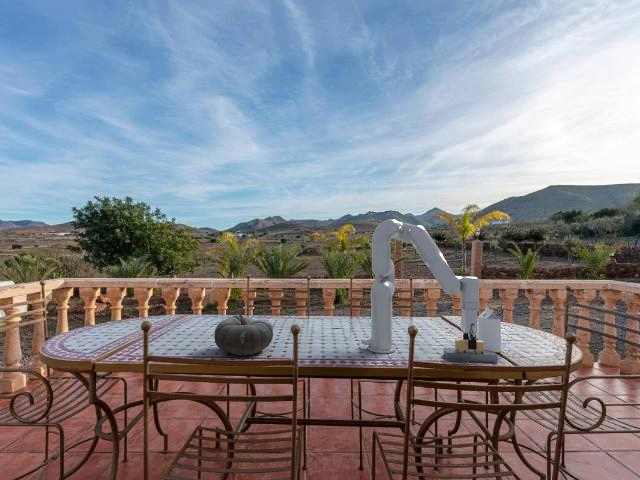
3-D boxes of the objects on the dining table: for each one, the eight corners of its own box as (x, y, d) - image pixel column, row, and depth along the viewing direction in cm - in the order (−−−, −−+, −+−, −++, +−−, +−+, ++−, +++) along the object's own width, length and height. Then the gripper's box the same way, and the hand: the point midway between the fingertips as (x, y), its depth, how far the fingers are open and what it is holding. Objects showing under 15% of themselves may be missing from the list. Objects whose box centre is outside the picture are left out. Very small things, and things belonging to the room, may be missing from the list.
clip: (456, 358, 156) (456, 340, 156) (455, 356, 159) (455, 339, 159) (483, 360, 154) (483, 342, 154) (482, 358, 157) (482, 340, 157)
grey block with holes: (446, 359, 154) (446, 352, 154) (443, 354, 162) (443, 347, 162) (497, 362, 151) (497, 355, 151) (491, 357, 159) (491, 350, 159)
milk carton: (492, 348, 173) (492, 307, 173) (500, 352, 166) (500, 310, 166) (478, 348, 173) (478, 307, 173) (485, 352, 166) (485, 310, 166)
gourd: (228, 336, 179) (233, 302, 177) (277, 348, 174) (282, 313, 173) (202, 356, 154) (207, 317, 152) (258, 370, 150) (264, 330, 148)
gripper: (456, 302, 166) (456, 340, 166) (465, 308, 149) (465, 351, 149) (473, 303, 165) (473, 341, 164) (484, 309, 148) (484, 352, 147)
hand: (469, 346), depth 157 cm, fingers open, 8 cm apart
